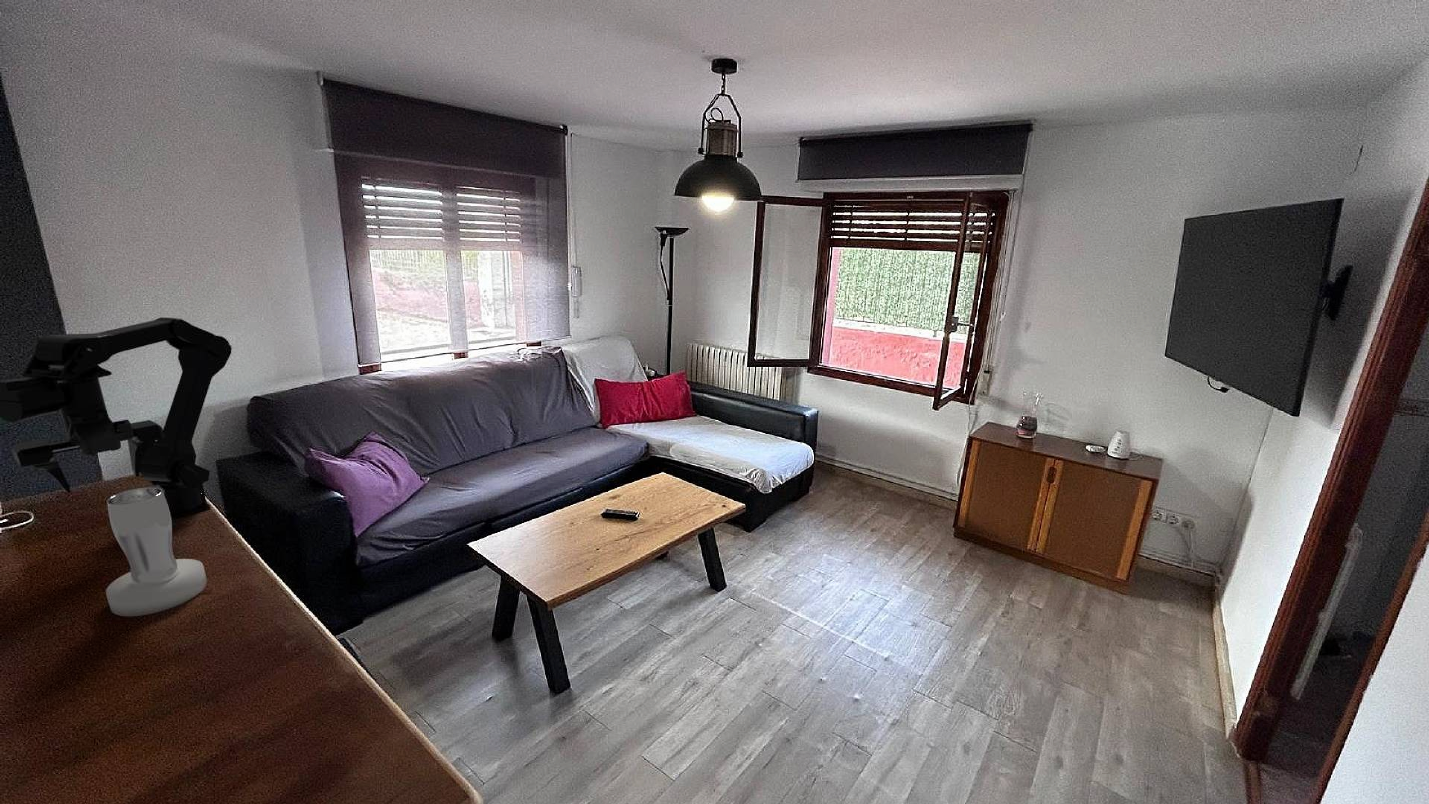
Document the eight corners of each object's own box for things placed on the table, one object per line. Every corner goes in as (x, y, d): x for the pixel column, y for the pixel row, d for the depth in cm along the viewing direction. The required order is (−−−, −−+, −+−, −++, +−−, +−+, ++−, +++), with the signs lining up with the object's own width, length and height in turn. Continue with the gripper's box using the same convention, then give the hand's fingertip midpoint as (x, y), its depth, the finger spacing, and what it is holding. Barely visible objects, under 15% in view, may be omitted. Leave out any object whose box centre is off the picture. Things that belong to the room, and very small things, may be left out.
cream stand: (192, 566, 107) (189, 551, 106) (218, 589, 101) (214, 574, 100) (100, 597, 98) (96, 582, 97) (123, 626, 91) (118, 609, 90)
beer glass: (193, 564, 103) (174, 485, 99) (167, 587, 96) (145, 503, 92) (146, 567, 101) (125, 487, 97) (116, 590, 95) (92, 506, 91)
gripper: (13, 427, 95) (41, 515, 99) (165, 402, 110) (183, 479, 114) (-1, 413, 100) (26, 496, 105) (145, 391, 115) (163, 465, 120)
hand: (104, 484), depth 111 cm, fingers open, 9 cm apart
